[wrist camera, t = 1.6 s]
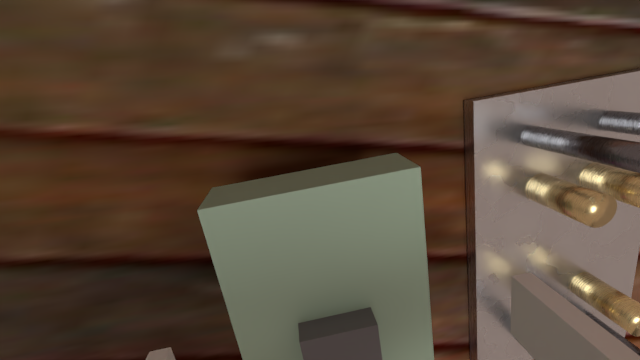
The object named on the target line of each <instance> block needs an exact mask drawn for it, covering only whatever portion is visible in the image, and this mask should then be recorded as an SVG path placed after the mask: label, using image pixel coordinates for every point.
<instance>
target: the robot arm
mask: <svg viewBox="0 0 640 360" xmlns="http://www.w3.org/2000/svg"><path fill="white" fill-rule="evenodd" d="M510 333H511V334H512V335H513V336H514V337H515V338H516V339H517V341H518V342H519V343H520V344H521V345H522V346H523V347H524V348H525V349H526V351H527V352H528V353H529V354H530V355H531V356H532V357H533V358H534V359H535V360H640V353H635V352H634V351H633V350H631V349H630V348H629V347H627V346H626V345H625V344H624V343H622V342H621V341H620V340H618V339H617V338H616V337H614V336H613V335H612V334H611V333H609V332H608V331H607V330H605V329H604V328H603V327H601V326H600V325H599V324H598V323H596V322H595V321H594V320H592V319H591V318H590V317H588V316H587V315H586V314H585V313H583V312H582V311H581V310H579V309H578V308H577V307H575V306H574V305H573V304H572V303H570V302H569V301H568V300H566V299H565V298H564V297H562V296H561V295H560V294H558V293H557V292H556V291H555V290H553V289H552V288H551V287H549V286H548V285H547V284H545V283H544V282H543V281H542V280H540V279H539V278H538V277H536V276H535V275H534V274H532V273H531V272H529V273H524V274H519V275H514V276H512V290H511V330H510ZM146 360H176V359H175V357H174V354H173V352H172V349H171V347H169V348H165V349H160V350H155V351H150V352H149V354H148V356H147V358H146Z"/></svg>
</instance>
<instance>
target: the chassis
mask: <svg viewBox="0 0 640 360" xmlns="http://www.w3.org/2000/svg"><path fill="white" fill-rule="evenodd" d="M464 136H465V176H466V216H467V256H468V297H469V337H470V360H532V359H534V358H533V357H532V356H531V355H530V354H529V353H528V352H527V351H526V349H525V348H524V347H523V346H522V345H521V344H520V343H519V342H518V341H517V339H516V338H515V337H514V336H513V335H512V334H511V333H510V330H511V290H512V276H514V275H519V274H524V273H529V272H531V273H532V274H534V275H535V276H536V277H538V278H539V279H540V280H542V281H543V282H544V283H545V284H547V285H548V286H549V287H551V288H552V289H553V290H555V291H556V292H557V293H558V294H560V295H561V296H562V297H564V298H565V299H566V300H568V301H569V302H570V303H572V304H573V305H574V306H575V307H577V308H578V309H579V310H581V311H582V312H583V313H585V314H586V315H587V316H588V317H590V318H591V319H592V320H594V321H595V322H596V323H598V324H599V325H600V326H601V327H603V328H604V329H605V330H607V331H608V332H609V333H611V334H612V335H613V336H614V337H616V338H617V339H618V340H620V341H621V342H622V343H624V344H625V345H626V346H627V347H629V348H630V349H631V350H633V351H634V352H635V353H640V349H639V348H638V347H636V346H635V345H634V344H632V343H631V342H630V341H628V340H627V339H625V338H624V337H625V333H626V331H627V332H629V333H630V334H631V335H633V336H640V303H638V302H637V301H635V300H633V299H632V298H631V296H632V289H633V283H634V277H635V271H636V265H637V258H638V252H639V246H640V68H639V69H634V70H628V71H623V72H617V73H612V74H606V75H601V76H595V77H590V78H584V79H579V80H573V81H568V82H562V83H557V84H551V85H546V86H540V87H535V88H529V89H524V90H518V91H513V92H507V93H502V94H497V95H491V96H486V97H480V98H475V99H469V100H464ZM534 360H535V359H534Z"/></svg>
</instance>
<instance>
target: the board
mask: <svg viewBox="0 0 640 360" xmlns="http://www.w3.org/2000/svg"><path fill="white" fill-rule="evenodd" d="M197 212H198V215H199V218H200V222H201V225H202V228H203V231H204V235H205V238H206V241H207V245H208V248H209V251H210V254H211V258H212V261H213V264H214V267H215V271H216V274H217V277H218V281H219V284H220V287H221V290H222V294H223V297H224V300H225V303H226V307H227V310H228V313H229V317H230V320H231V323H232V326H233V330H234V333H235V336H236V340H237V343H238V346H239V349H240V353H241V356H242V359H243V360H434V352H433V338H432V324H431V309H430V295H429V280H428V266H427V252H426V237H425V223H424V208H423V194H422V179H421V167H420V166H418V165H417V164H415V163H413V162H412V161H410V160H408V159H406V158H405V157H403V156H401V155H399V154H398V153H392V154H387V155H382V156H377V157H371V158H366V159H361V160H356V161H350V162H345V163H340V164H335V165H329V166H324V167H319V168H314V169H309V170H303V171H298V172H293V173H288V174H282V175H277V176H272V177H267V178H261V179H256V180H251V181H246V182H240V183H235V184H230V185H225V186H219V187H214V188H212V189H211V190H210V192H209V193H208V195H207V196H206V198H205V199H204V201H203V202H202V204H201V205H200V207H199V208H198V210H197Z"/></svg>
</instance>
